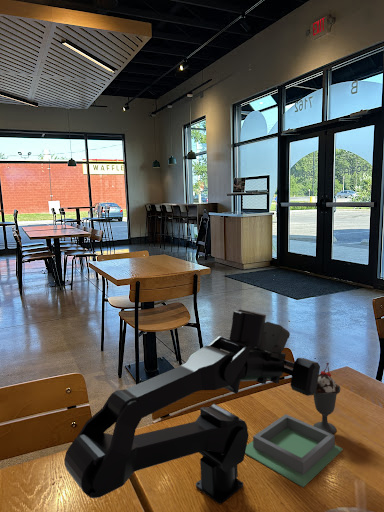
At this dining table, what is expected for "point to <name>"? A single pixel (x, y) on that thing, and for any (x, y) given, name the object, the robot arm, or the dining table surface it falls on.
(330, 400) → the sundae
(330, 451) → the rimmed mat
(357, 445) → the dining table surface
